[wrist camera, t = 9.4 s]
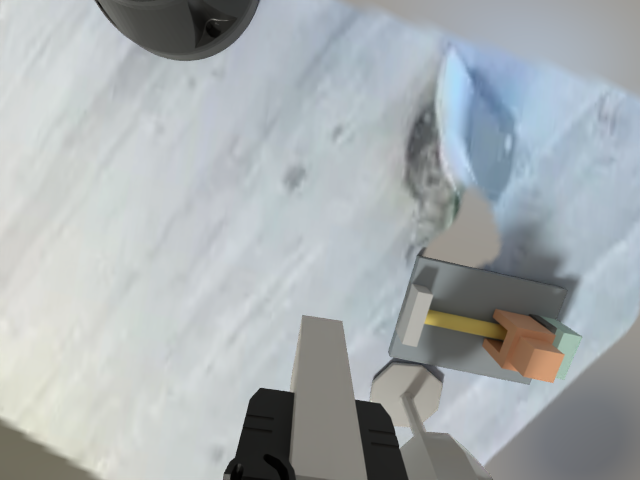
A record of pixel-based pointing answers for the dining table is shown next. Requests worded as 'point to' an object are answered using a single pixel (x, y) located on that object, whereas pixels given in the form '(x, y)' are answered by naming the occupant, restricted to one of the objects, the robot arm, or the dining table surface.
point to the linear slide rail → (472, 317)
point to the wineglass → (411, 411)
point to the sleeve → (525, 347)
